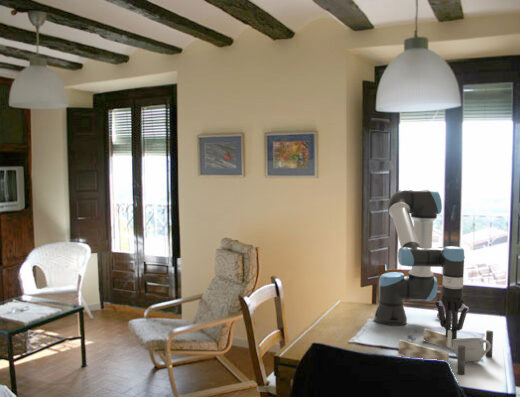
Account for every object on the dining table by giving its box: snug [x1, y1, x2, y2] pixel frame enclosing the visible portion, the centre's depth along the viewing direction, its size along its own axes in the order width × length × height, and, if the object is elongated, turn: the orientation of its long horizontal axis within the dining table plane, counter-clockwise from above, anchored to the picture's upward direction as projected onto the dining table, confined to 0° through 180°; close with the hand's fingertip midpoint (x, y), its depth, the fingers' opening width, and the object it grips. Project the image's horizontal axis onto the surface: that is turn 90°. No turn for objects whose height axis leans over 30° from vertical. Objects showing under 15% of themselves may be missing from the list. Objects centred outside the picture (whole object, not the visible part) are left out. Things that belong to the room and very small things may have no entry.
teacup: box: [452, 337, 491, 362], centre depth 184 cm, size 14×11×8 cm
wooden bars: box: [397, 328, 494, 376], centre depth 192 cm, size 27×27×10 cm
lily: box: [433, 305, 462, 318], centre depth 240 cm, size 12×12×10 cm
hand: (450, 346), depth 190 cm, fingers closed
